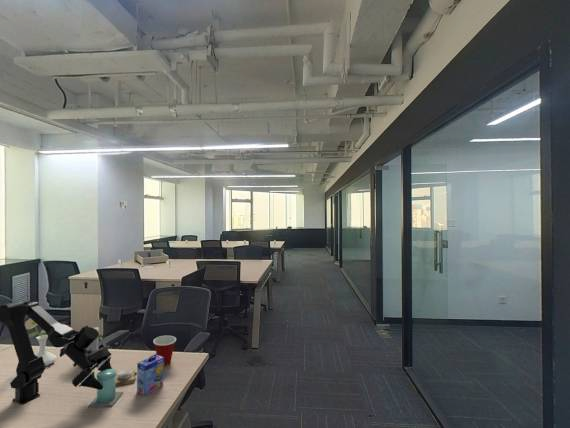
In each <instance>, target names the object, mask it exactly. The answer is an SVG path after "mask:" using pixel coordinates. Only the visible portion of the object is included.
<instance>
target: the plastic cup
mask: <svg viewBox="0 0 570 428" xmlns="http://www.w3.org/2000/svg"><path fill="white" fill-rule="evenodd" d="M176 341H177V337H176V336H173V335H160V336H157V337H156V338H154V339H153V344H154V348H155V354H157V355H159V356H162V357H164V367H166V366H168V365H170V364H171V362H172V357H173V352H174V347H175V343H176Z"/></svg>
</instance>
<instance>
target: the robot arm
mask: <svg viewBox="0 0 570 428" xmlns="http://www.w3.org/2000/svg"><path fill="white" fill-rule="evenodd" d="M26 316H27V317H28V318H29V319H30V318H31V319H32V320H33V321H34V322H35V323H36V324H37V326H38V327H39V328H41V329H42V330H44V331H45V332H46V333H45V334H46V335H48V338H47V339H48V342H49V343H50V344H51V345H52V347H54V348H61V347H62V348H61V349H59V350H60V352H59V357H60V358H62V357H63V356H64V355H66V356H67V358H69V359H70V360H71V361H72V362H73V363H74V364H72V365H73V367H76V366H77V367H78V368H79V369H80V370H81V371H80V372H78V374H77V375H76V376H75V377H74V378H73V379H72V380H71V384H72V385H73V386H74V387H75V388H77V387H79V388H81V387H84V388H89V389H90V388H91V389H96V390H97V389H99V390H101V389H102V388H103V386H102V385H101V384H100V382H99V381H98V380H97V377H95V371H93V370H95V369H96V368H97V371H99V372H101V371H103V370H107V369H113V367H112V365H111V358H112V355H113V354H112V353H111V352H110V351H109V348H110V346H109V345H107V344H106V343H105V342H103V343H101V344H99V345H98V349H97V350H95V351H93V350H91V349H90V350H89V351H88V350H87V349H86V348H87V347H89V346H90V345H91V344H92V342H93V341H94V340H95V339H96V338H97V337H98V336H99V335H100V332H99V333H98V331H97V330H96V329H94V328H95V327H90V326H88V325H84V326H83V327H82V328H80V329H79V330H75V329H74V328H72V327H70V326H69V325H67V324H64V323H60V322H59V321H58V320H56V319H55V317H53V316H52V315H51V314H50V313H48V312H47V311H46V310H45V309H44V308H43V307H42V306H41V305H40V303H39V302H38V301H25V302H24V301H21V300H16V301H12V302H8V303H4V304H1V305H0V323H2V324H3V325H4V326H6V327H7V328H8V329H7V330H8V331H9V335H10V337H11V340H12V344H13V348H14V350H15V353H16V357H17V360H18V364H17V366H16V370H15V372H16V376H15V378H13V379H12V381H10V383H9V385H10V389H14V395H15V396H14V398H13V399H12V401H13V402H15V403H17V404H21V405H24V404H26V403H27V402H29V401H32V400H34V399H36V398H38V397H40V396H41V393H39V389H40V387H39V386H40V384H39V382H38V380H39V379H41V378H42V375H43V374H44V372H45V370H46V369H45V368H46V366H45V364H44V362H43V357H42V356H41V357H37V356H36V355H37V354H35V352H34V349H33V346H32V343H31V339H30V337H29V336H28V335H29V334H28V331H27V330H28V329H26V327H25V324H26V323H25V319H26ZM99 337H100V336H99Z"/></svg>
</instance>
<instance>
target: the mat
mask: <svg viewBox="0 0 570 428" xmlns="http://www.w3.org/2000/svg"><path fill="white" fill-rule="evenodd" d="M123 394H124V392H123V391H115V398H114V399H113V400H111V401H109V402H106V403H98V402H97V396H96V397H95V398H94V399H93V400H92V401H91V402H90V403H89V404H88V405H87V407H88V408H107V407H108V408H109V407H113V406H114V405H115V404H116V403H117V402H118V400H119V399H120V398H121V396H122V395H123Z"/></svg>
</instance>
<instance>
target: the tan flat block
mask: <svg viewBox="0 0 570 428" xmlns="http://www.w3.org/2000/svg"><path fill="white" fill-rule="evenodd" d="M136 376H137V371H136V370H130V369H129V370H128V369H125V370H122V371H120V372H118V373H116V386H115V387H118V386H123V385H128V384H134V383H135V382H136V381H135V380H136Z"/></svg>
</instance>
